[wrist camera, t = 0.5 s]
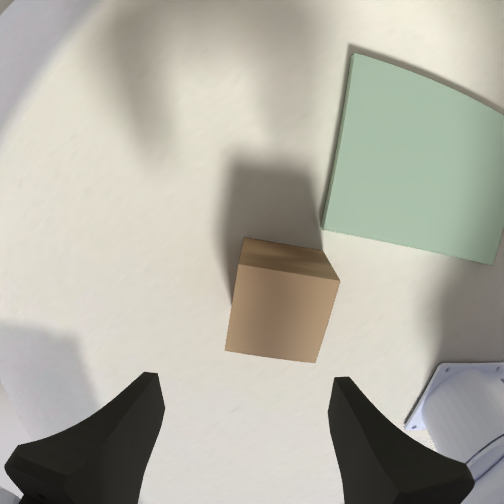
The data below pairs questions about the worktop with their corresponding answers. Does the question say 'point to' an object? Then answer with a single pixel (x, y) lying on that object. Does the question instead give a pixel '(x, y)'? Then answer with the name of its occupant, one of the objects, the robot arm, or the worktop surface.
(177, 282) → the worktop surface
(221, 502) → the worktop surface
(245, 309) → the walnut block
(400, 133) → the sage board
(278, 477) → the worktop surface
